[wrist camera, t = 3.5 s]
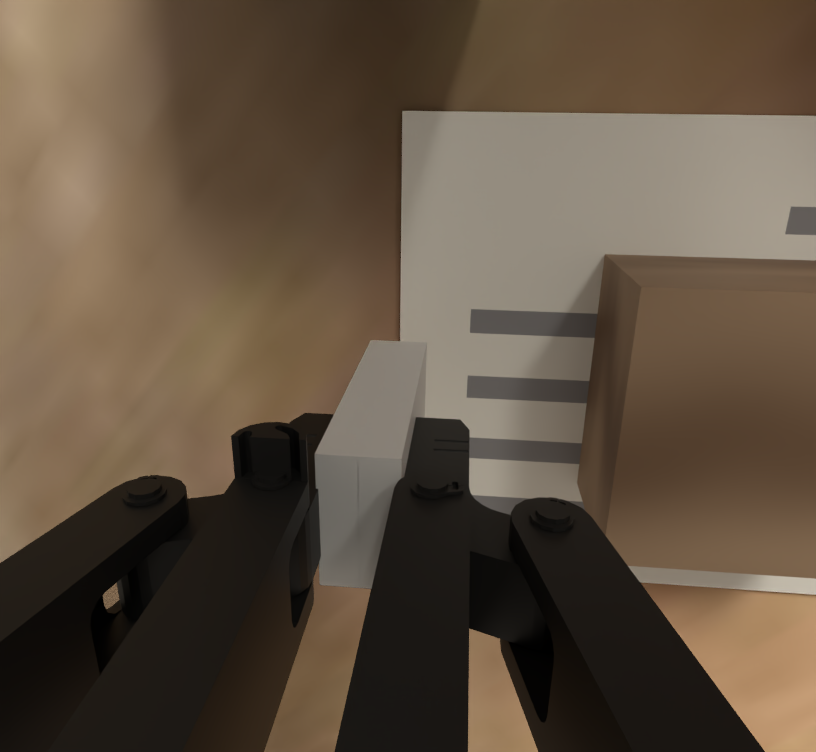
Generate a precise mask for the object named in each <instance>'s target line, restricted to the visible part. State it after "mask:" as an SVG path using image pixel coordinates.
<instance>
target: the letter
mask: <svg viewBox="0 0 816 752" xmlns="http://www.w3.org/2000/svg"><path fill="white" fill-rule="evenodd" d="M605 254H615V255H649V256H682V257H716V258H750V259H784V260H816V116H789V115H706V114H623V113H540V112H457V111H402V199H401V298H400V341H406V342H427V357H426V394H425V418H442V419H460V420H461V421H462V422H463V423H464V424H465V425H466V426H467V428H468V429H469V430H470V439H469V489H470V493H471V494H472V496H473V497H474V498H475V499H476V500H477V501H478V502H479V503H481V504H482V505H484V506H486V507H488V508H490V509H493V510H496V511H499V512H502V513H505V514H509V515H511V512H512V510H513V508H514V507H515V505H517V504H518V503H520V502H522V501H524V500H527V499H532V498H537V497H543V498H549V497H553V498H558V499H563V500H566V501H569V502H571V503H573V504H575V505H577V506H579V507H581V508H583V509H584V510H585V508H584V504H583V501H582V498H581V495H580V491H579V488H578V485H577V479H578V471H579V462H580V454H581V446H582V438H583V429H584V421H585V413H586V405H587V397H588V388H589V380H590V372H591V364H592V355H593V347H594V339H595V331H596V322H597V314H598V306H599V298H600V289H601V281H602V273H603V265H604V256H605ZM628 567H629V568H630V570H631V571H632V572H633V574H634V575H635V576H636V578H637V579H638V580H639V582H642V583H656V584H670V585H685V586H699V587H713V588H727V589H742V590H756V591H770V592H784V593H799V594H813V595H816V579H814V578H799V577H784V576H770V575H755V574H741V573H726V572H711V571H697V570H682V569H667V568H653V567H638V566H628Z"/></svg>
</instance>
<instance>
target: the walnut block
mask: <svg viewBox="0 0 816 752" xmlns="http://www.w3.org/2000/svg"><path fill="white" fill-rule="evenodd" d="M577 485H578V488H579V491H580V495H581V498H582V501H583V504H584V508H585V511H586V512H587V513H588V514H589V515H590V516H591V517H592V518H593V519H594V521H595V522H596V523H597V525H598V526H599V528H600V529H601V530H602V532H603V533H604V534H605V536H606V537H607V538H608V540H609V541H610V542H611V544H612V545H613V546H614V548H615V549H616V551H617V552H618V553H619V555H620V556H621V557H622V559H623V560H624V561H625V563H626V564H627V565H628V566H638V567H653V568H667V569H682V570H697V571H711V572H726V573H741V574H755V575H770V576H784V577H799V578H814V579H816V260H784V259H750V258H716V257H682V256H649V255H615V254H605V256H604V265H603V273H602V281H601V289H600V298H599V306H598V314H597V322H596V331H595V339H594V347H593V355H592V364H591V372H590V380H589V388H588V397H587V405H586V413H585V421H584V429H583V438H582V446H581V454H580V462H579V471H578V479H577Z"/></svg>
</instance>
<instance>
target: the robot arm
mask: <svg viewBox="0 0 816 752" xmlns="http://www.w3.org/2000/svg"><path fill="white" fill-rule="evenodd" d="M426 357H427V342H406V341H382V340H371V341H370V343H369V345H368V347H367V349H366V351H365V353H364V355H363V357H362V359H361V361H360V363H359V365H358V367H357V369H356V371H355V373H354V375H353V377H352V379H351V381H350V383H349V385H348V387H347V389H346V391H345V393H344V395H343V397H342V399H341V401H340V403H339V405H338V407H337V409H336V411H335V414H315V413H304V414H303V415H301V416H299V417H298V418H296V419H294V420H293V421H291V422H290V423H289V424H288V423H281V422H267V423H260V424H255V425H250V426H248V427H245V428H243V429H240V430H238V431H237V432H236V433H234V434H233V435H232V436H231V439H232V450H233V461H234V472H235V479H234V480H233V482H232V483H231V484H230V486H229V487H228V489H227V490H226V492H225V493H224V494H221V495H215V496H208V497H199V498H191V499H187V491H186V486H185V485H184V484H183V483H182V481H180V480H178V479H175V478H173V477H167V476H159V475H150V477H148V476H143V477H139V478H137V479H134V480H131V481H127V482H125V483H123V484H121V485H119V486H117V487H115V488H113V489H112V490H110V491H109V492H107V493H106V494H104V495H103V496H101V497H100V498H98V499H97V500H95V501H94V502H92V503H91V504H89V505H88V506H86V507H84V508H83V509H81V510H80V511H78V512H77V513H75V514H74V515H72V516H71V517H69V518H68V519H66V520H65V521H63V522H62V523H60V524H59V525H57V526H56V527H54V528H53V529H51V530H50V531H48V532H47V533H45V534H44V535H42V536H41V537H39V538H38V539H36V540H35V541H33V542H32V543H30V544H29V545H27V546H26V547H24V548H23V549H21V550H20V551H18V552H17V553H15V554H14V555H12V556H10V557H9V558H7V559H6V560H4V561H3V562H1V563H0V752H264V750H265V747H266V744H267V741H268V738H269V735H270V732H271V729H272V726H273V723H274V720H275V717H276V714H277V711H278V708H279V705H280V702H281V699H282V696H283V693H284V690H285V687H286V684H287V681H288V678H289V675H290V672H291V669H292V666H293V663H294V660H295V657H296V654H297V651H298V648H299V645H300V642H301V639H302V636H303V633H304V630H305V627H306V624H307V621H308V618H309V615H310V612H311V609H312V606H313V601H314V588H313V577H314V575H315V572H316V569H317V566H318V563H319V579H320V585H326V586H340V587H353V588H366V589H371V593H370V597H369V602H368V606H367V611H366V615H365V620H364V624H363V628H362V633H361V637H360V642H359V646H358V651H357V655H356V659H355V664H354V668H353V673H352V677H351V682H350V686H349V691H348V695H347V699H346V704H345V708H344V713H343V717H342V722H341V726H340V730H339V735H338V739H337V744H336V748H335V752H468V679H469V628H470V629H473V630H476V631H479V632H482V633H485V634H488V635H491V636H494V637H497V638H500V644H501V652H502V655H503V658H504V660H505V663H506V666H507V668H508V671H509V674H510V676H511V679H512V682H513V684H514V687H515V690H516V693H517V695H518V698H519V701H520V703H521V706H522V709H523V711H524V714H525V717H526V719H527V722H528V725H529V727H530V730H531V733H532V736H533V738H534V741H535V744H536V746H537V749H538V752H765V751H764V750H763V749H762V747H761V746H760V744H759V743H758V742H757V740H756V739H755V738H754V736H753V735H752V734H751V732H750V731H749V730H748V728H747V727H746V725H745V724H744V723H743V721H742V720H741V719H740V717H739V716H738V715H737V713H736V712H735V711H734V709H733V708H732V707H731V705H730V704H729V702H728V701H727V700H726V698H725V697H724V696H723V694H722V693H721V692H720V690H719V689H718V688H717V686H716V685H715V683H714V682H713V681H712V679H711V678H710V677H709V675H708V674H707V673H706V671H705V670H704V669H703V667H702V666H701V664H700V663H699V662H698V660H697V659H696V658H695V656H694V655H693V654H692V652H691V651H690V650H689V648H688V647H687V645H686V644H685V643H684V641H683V640H682V639H681V637H680V636H679V635H678V633H677V632H676V631H675V629H674V628H673V627H672V625H671V624H670V622H669V621H668V620H667V618H666V617H665V616H664V614H663V613H662V612H661V610H660V609H659V608H658V606H657V605H656V603H655V602H654V601H653V599H652V598H651V597H650V595H649V594H648V593H647V591H646V590H645V589H644V587H643V586H642V584H641V583H640V582H639V580H638V579H637V578H636V576H635V575H634V574H633V572H632V571H631V570H630V568H629V567H628V565H627V564H626V563H625V561H624V560H623V559H622V557H621V556H620V555H619V553H618V552H617V551H616V549H615V548H614V546H613V545H612V544H611V542H610V541H609V540H608V538H607V537H606V536H605V534H604V533H603V532H602V530H601V529H600V528H599V526H598V525H597V523H596V522H595V521H594V519H593V518H592V517H591V516H590V515H589V514H588V513H587V512H586V511H585V510H584V509H583V508H581V507H579V506H577V505H575V504H573V503H571V502H569V501H566V500H563V499H558V498H553V497H549V498H543V497H537V498H532V499H527V500H524V501H522V502H520V503H518V504H517V505H515V507H514V508H513V510H512V512H511V515H509V514H505V513H502V512H499V511H496V510H493V509H490V508H488V507H486V506H484V505H482V504H481V503H479V502H478V501H477V500H476V499H475V498H474V497H473V496H472V494H471V493H470V489H469V439H470V430H469V429H468V428H467V426H466V425H465V424H464V423H463V422H462V421H461V420H460V419H442V418H425V394H426ZM116 582H117V587H118V593H119V599H120V600H119V601H118V602H116V603H115V604H114V605H113V606H112V607H110V608H108V609H107V610H106V608H105V606H104V602H103V596H102V595H103V594H104V593H105V592H106V591H107V590H108V589H109V588H110V587H112V586H113V585H114V584H115V583H116Z"/></svg>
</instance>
